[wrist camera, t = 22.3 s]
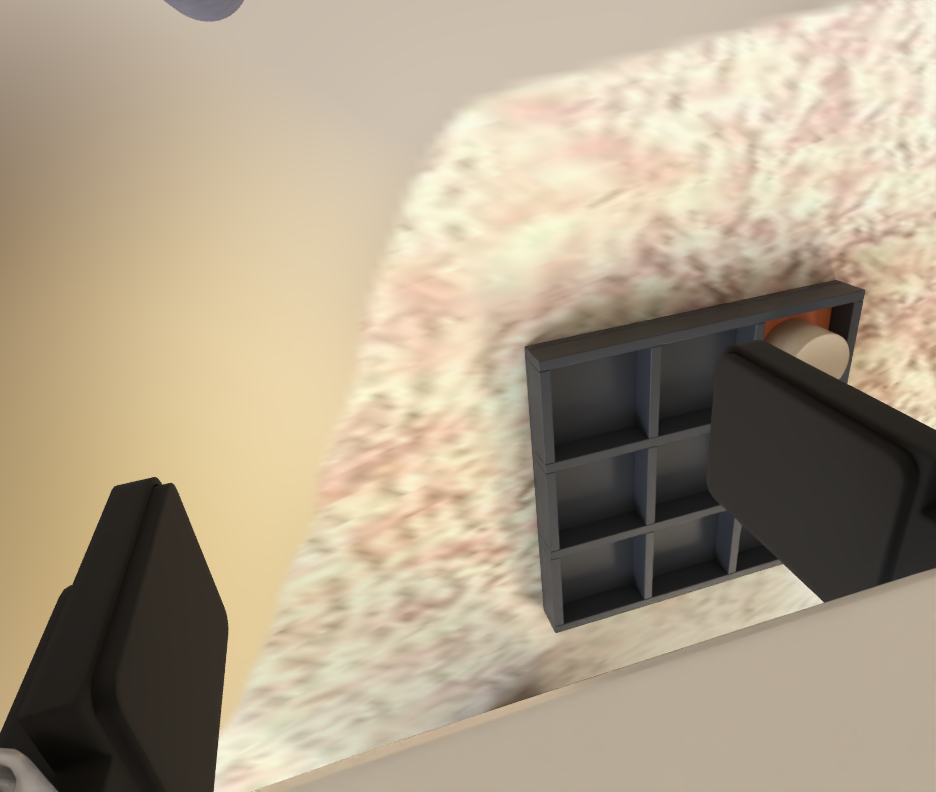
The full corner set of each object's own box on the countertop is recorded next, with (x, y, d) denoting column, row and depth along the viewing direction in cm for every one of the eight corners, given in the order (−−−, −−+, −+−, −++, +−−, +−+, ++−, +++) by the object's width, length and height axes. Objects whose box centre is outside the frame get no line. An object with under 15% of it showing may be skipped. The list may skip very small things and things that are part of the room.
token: (761, 325, 40) (793, 341, 38) (819, 312, 41) (855, 327, 39) (754, 385, 43) (784, 404, 40) (809, 372, 43) (843, 390, 41)
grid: (524, 346, 38) (538, 361, 35) (836, 279, 42) (865, 289, 39) (543, 610, 48) (555, 633, 46) (792, 536, 52) (813, 554, 50)
